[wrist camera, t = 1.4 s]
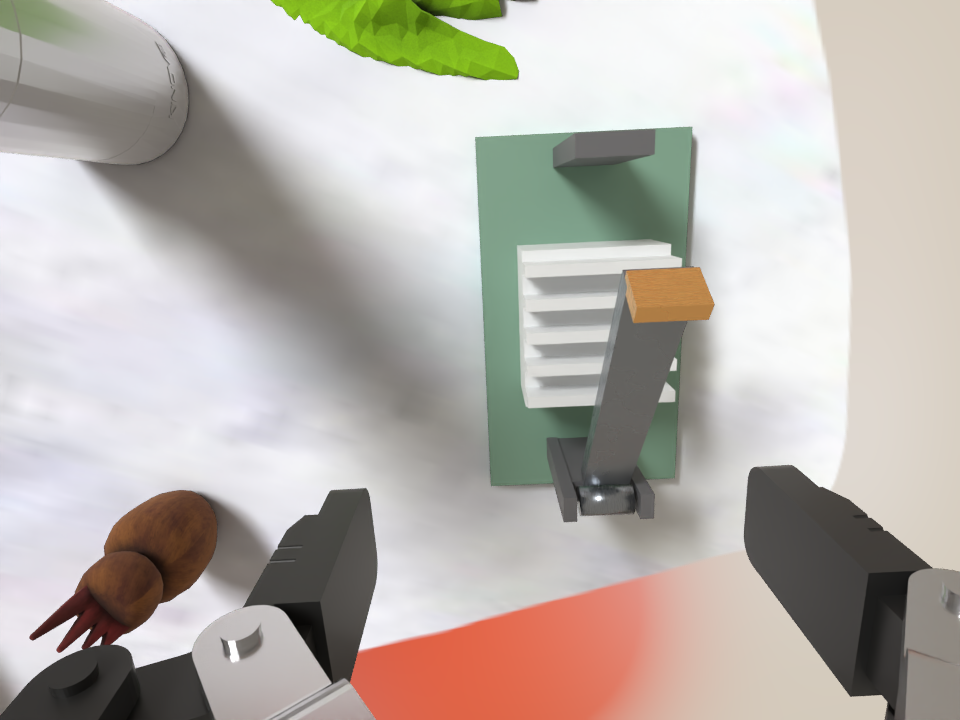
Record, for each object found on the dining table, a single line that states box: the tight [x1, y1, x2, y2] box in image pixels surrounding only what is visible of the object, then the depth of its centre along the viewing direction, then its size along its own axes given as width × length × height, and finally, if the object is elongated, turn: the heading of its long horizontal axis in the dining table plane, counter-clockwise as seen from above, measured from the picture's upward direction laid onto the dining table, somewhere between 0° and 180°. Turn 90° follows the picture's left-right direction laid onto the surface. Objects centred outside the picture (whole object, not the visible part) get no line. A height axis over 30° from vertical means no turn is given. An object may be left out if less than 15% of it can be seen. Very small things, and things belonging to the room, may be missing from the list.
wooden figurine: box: [29, 490, 217, 653], centre depth 38 cm, size 7×6×15 cm
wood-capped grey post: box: [577, 266, 715, 516], centre depth 29 cm, size 19×3×2 cm
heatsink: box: [475, 127, 692, 522], centre depth 36 cm, size 14×25×10 cm, turn 3°
